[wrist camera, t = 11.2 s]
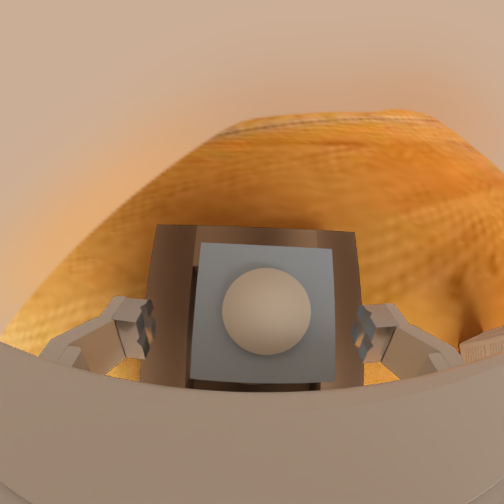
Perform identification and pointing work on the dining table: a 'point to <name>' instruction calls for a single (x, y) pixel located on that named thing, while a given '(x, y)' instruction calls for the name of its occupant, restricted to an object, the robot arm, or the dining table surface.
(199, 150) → the dining table surface
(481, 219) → the dining table surface
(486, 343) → the skincare box
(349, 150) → the dining table surface
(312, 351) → the post
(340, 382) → the socket block
